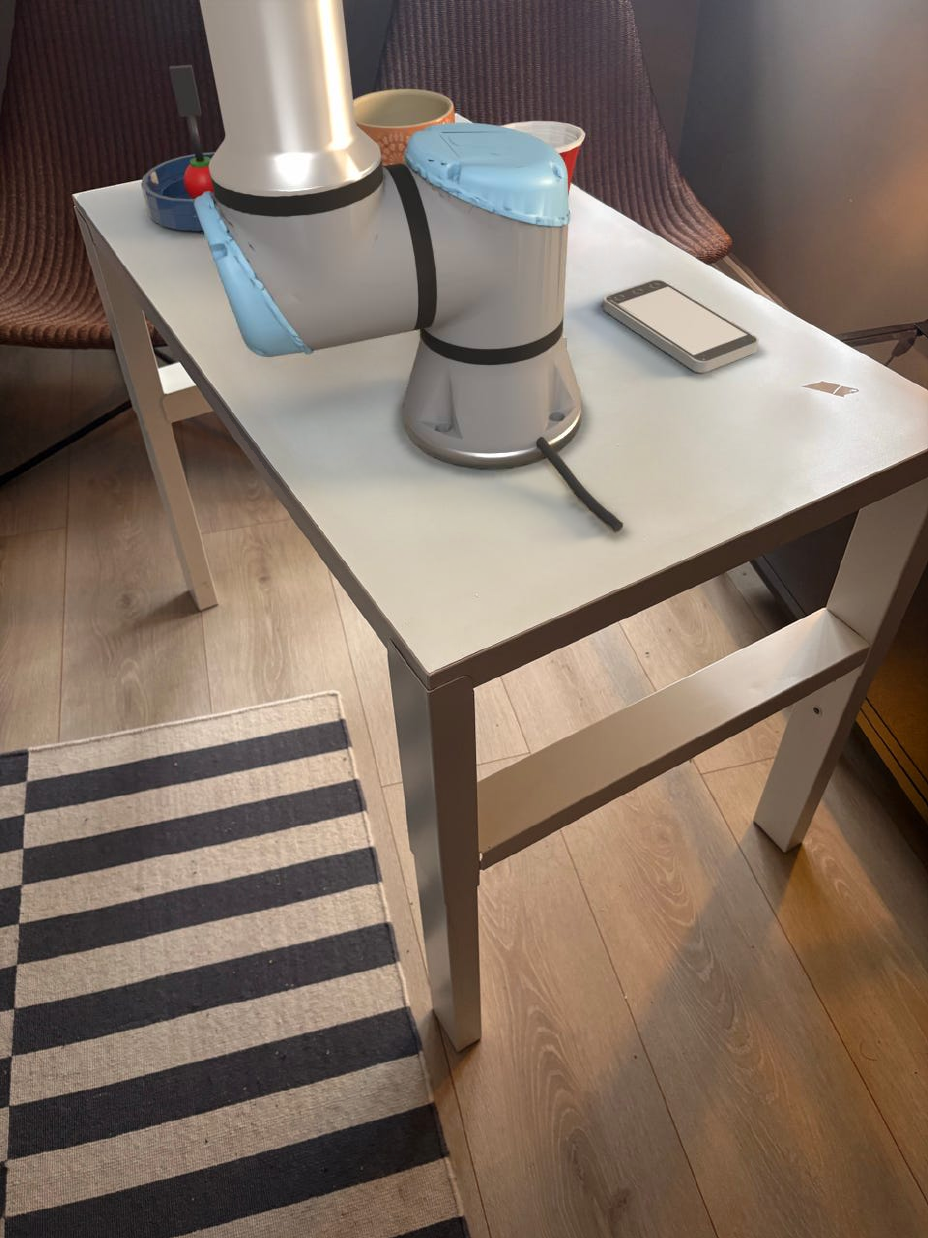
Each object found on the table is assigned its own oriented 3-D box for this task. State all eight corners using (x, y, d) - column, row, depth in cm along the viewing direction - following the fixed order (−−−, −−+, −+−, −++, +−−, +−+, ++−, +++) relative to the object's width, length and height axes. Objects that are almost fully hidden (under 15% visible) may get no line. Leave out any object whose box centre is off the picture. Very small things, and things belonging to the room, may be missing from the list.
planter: (339, 224, 116) (327, 124, 109) (370, 181, 125) (360, 85, 117) (444, 231, 114) (439, 130, 106) (467, 187, 123) (465, 90, 115)
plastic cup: (557, 218, 116) (561, 106, 107) (595, 257, 108) (602, 141, 100) (467, 234, 114) (464, 121, 105) (500, 275, 106) (499, 158, 98)
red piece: (228, 210, 119) (201, 71, 108) (187, 214, 118) (155, 74, 108) (230, 194, 122) (204, 57, 111) (190, 197, 122) (160, 60, 111)
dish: (269, 229, 116) (263, 195, 113) (144, 240, 115) (135, 205, 112) (271, 180, 126) (265, 147, 123) (156, 190, 125) (147, 156, 122)
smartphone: (659, 277, 102) (762, 340, 93) (658, 287, 103) (760, 350, 94) (600, 297, 100) (700, 364, 90) (599, 307, 100) (699, 374, 91)
